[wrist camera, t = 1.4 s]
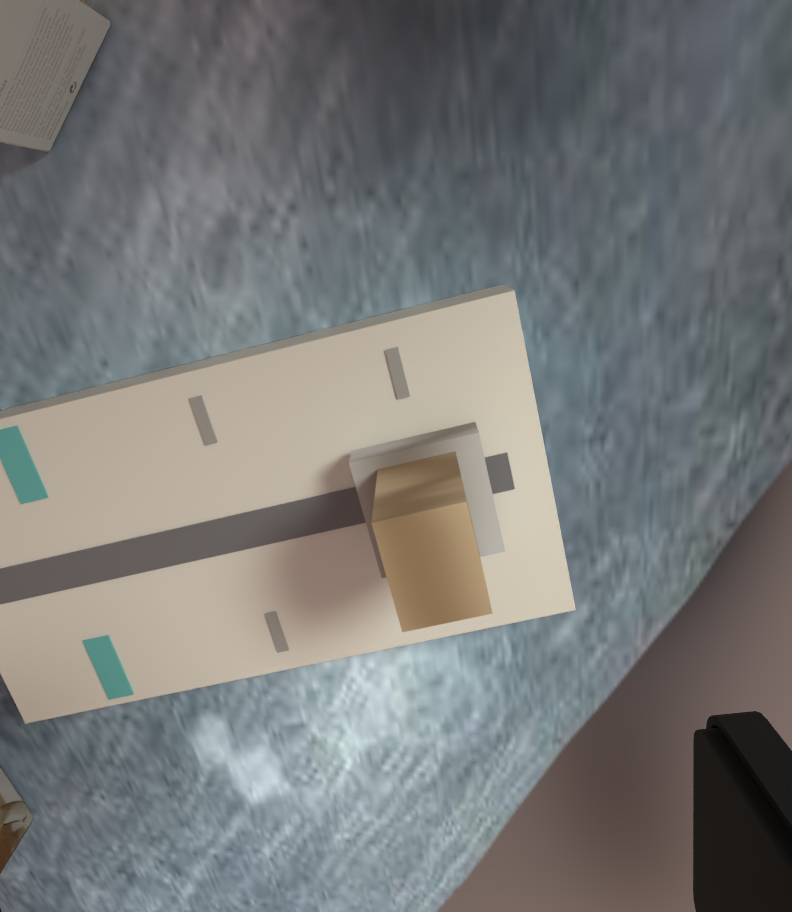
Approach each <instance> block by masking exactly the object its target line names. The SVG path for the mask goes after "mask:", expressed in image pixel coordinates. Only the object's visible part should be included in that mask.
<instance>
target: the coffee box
mask: <svg viewBox="0 0 792 912" xmlns="http://www.w3.org/2000/svg"><path fill="white" fill-rule="evenodd" d="M33 819H34V817H33V815H32V813H31V812H30V810H29V809H28V807H27V806H26V804H25V803H24V801H23V800H22V798H21V797H20V796H19V794H18V793H17V791H16V790H15V788H14V787H13V785H12V784H11V782H10V781H9V779H8V778H7V776H6V775H5V773H4V772H3V770H2V769H1V767H0V873H1V872H2V870H3V868H4V867H5V865H6V863H7V862H8V860H9V859H10V857H11V855H12V853H13V852H14V850H15V849H16V847H17V846H18V844H19V842H20V841H21V839H22V837H23V836H24V834H25V833H26V831H27V829H28V828H29V826H30V825H31V823H32V821H33Z"/></svg>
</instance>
